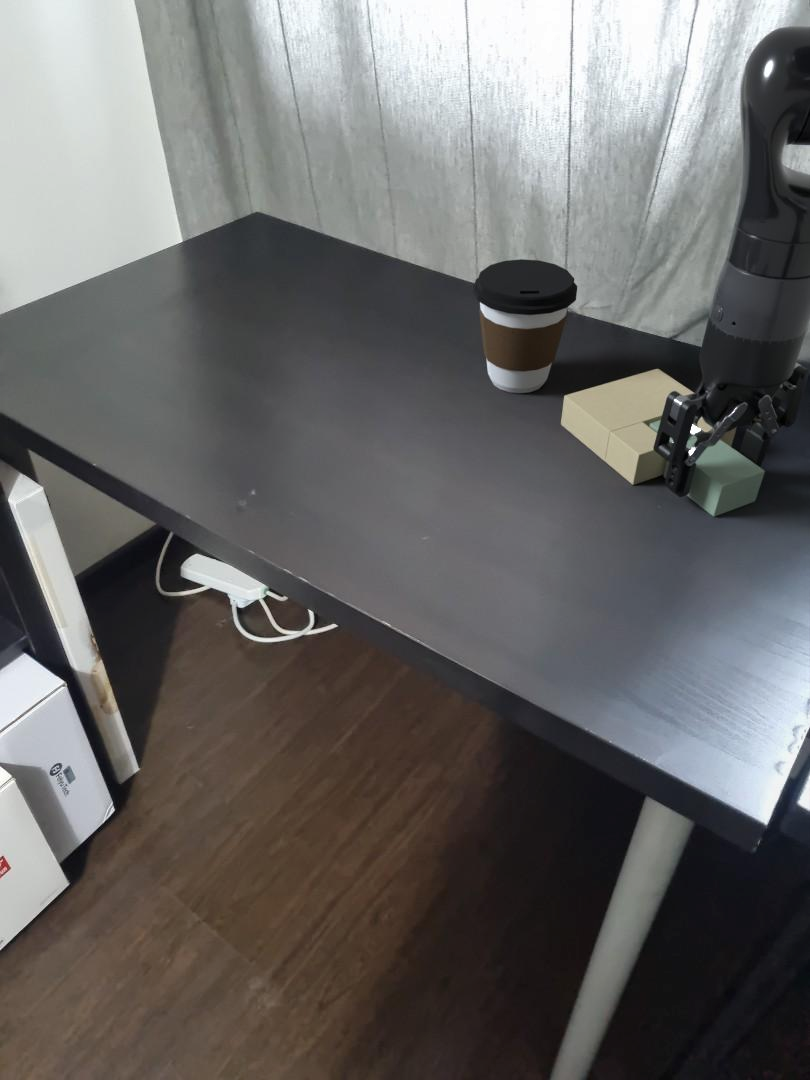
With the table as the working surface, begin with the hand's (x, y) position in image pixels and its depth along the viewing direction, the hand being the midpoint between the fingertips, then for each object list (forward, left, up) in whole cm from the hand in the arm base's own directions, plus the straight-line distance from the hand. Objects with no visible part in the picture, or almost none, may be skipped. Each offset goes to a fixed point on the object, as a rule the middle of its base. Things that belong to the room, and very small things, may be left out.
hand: (713, 479), depth 77 cm
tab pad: (+2, 0, -1) cm, 3 cm away
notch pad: (+10, 0, -1) cm, 10 cm away
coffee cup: (+26, +5, -1) cm, 26 cm away
